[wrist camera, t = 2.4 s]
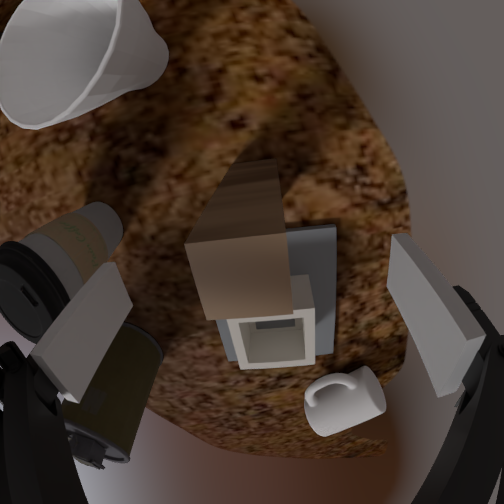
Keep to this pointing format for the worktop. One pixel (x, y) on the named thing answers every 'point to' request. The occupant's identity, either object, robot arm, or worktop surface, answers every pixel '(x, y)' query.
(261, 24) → the worktop surface
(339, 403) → the mug
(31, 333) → the coffee cup
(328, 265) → the mat
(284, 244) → the brown wooden block
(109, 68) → the cup
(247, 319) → the white square holder
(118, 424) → the canister
